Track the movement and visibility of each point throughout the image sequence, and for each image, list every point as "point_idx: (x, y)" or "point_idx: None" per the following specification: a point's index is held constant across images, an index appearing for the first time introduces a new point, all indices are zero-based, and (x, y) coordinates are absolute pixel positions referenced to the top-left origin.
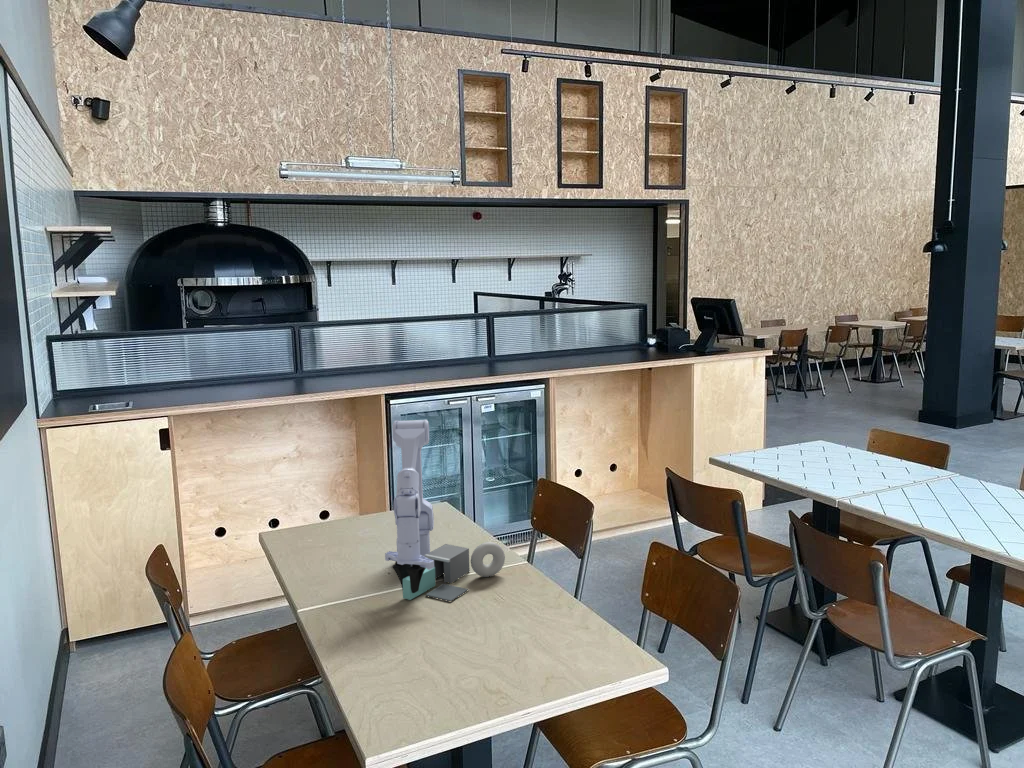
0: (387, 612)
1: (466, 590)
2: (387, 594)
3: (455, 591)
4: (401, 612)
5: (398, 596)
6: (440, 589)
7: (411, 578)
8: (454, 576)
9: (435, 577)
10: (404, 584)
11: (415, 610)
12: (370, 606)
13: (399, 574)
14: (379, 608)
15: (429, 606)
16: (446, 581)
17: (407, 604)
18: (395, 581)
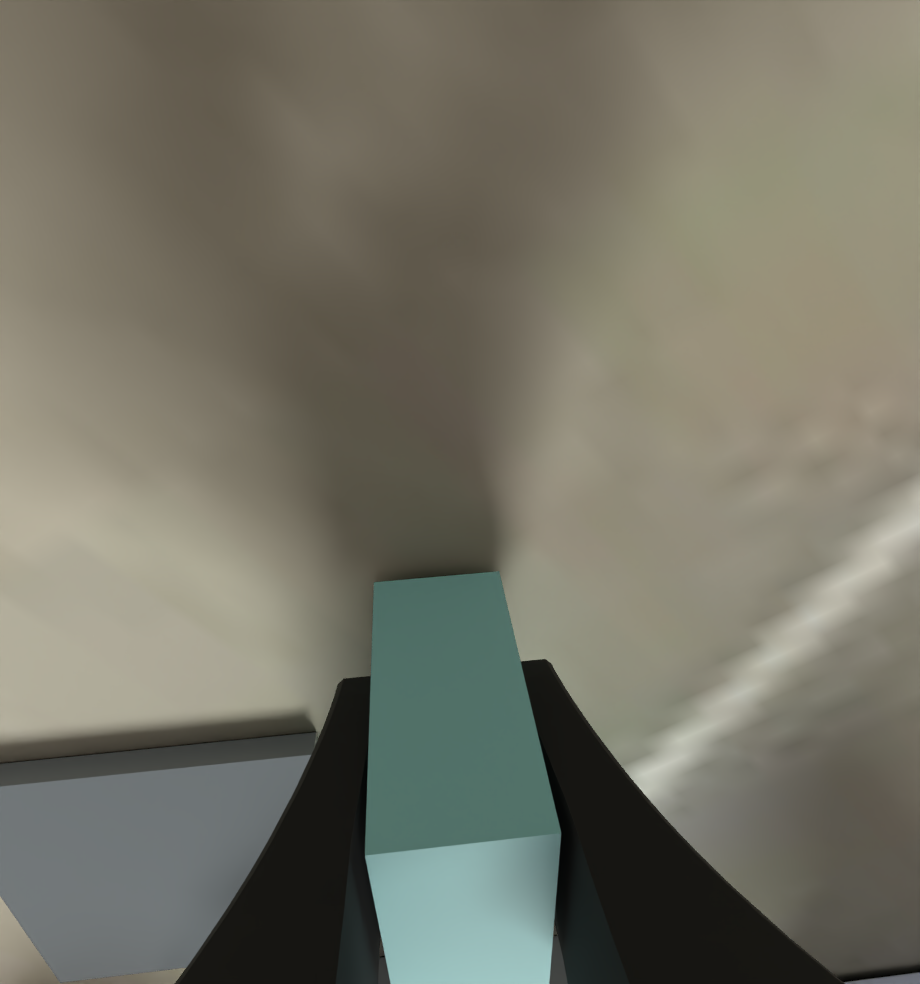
0: (396, 95)
1: (50, 963)
2: (769, 563)
3: (107, 915)
4: (192, 236)
5: (608, 590)
6: None
7: (286, 922)
8: None
9: None
10: (496, 741)
11: (80, 411)
12: (815, 135)
13: (652, 914)
14: (627, 156)
15: (47, 593)
16: (380, 970)
17: (341, 492)
18: (841, 786)
